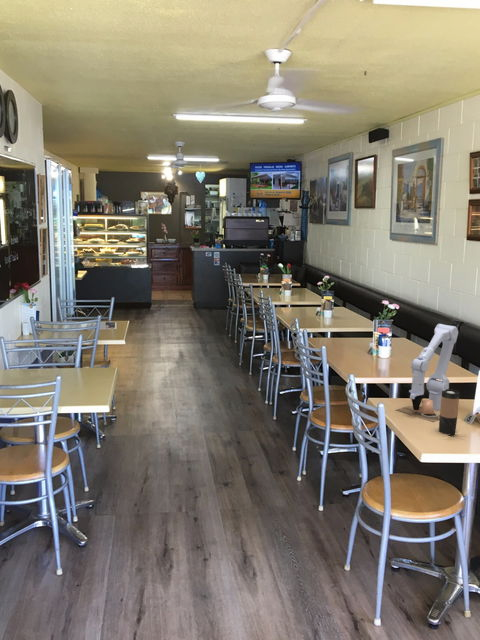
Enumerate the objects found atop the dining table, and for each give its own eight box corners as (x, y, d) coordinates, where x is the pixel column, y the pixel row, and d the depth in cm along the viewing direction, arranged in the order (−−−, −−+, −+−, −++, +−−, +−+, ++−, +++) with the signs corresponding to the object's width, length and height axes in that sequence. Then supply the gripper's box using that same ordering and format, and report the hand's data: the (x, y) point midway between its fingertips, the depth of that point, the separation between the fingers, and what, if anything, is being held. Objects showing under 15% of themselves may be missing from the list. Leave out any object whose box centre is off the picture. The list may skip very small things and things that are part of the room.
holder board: (408, 407, 317) (408, 403, 316) (446, 419, 300) (447, 415, 300) (394, 412, 309) (394, 407, 309) (433, 424, 292) (433, 419, 292)
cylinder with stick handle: (435, 414, 300) (434, 401, 302) (430, 413, 297) (429, 399, 299) (417, 415, 307) (416, 403, 309) (411, 414, 304) (411, 401, 306)
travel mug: (456, 437, 276) (460, 394, 272) (439, 435, 277) (442, 393, 274) (454, 431, 283) (458, 389, 280) (437, 429, 285) (440, 388, 281)
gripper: (415, 378, 310) (413, 404, 312) (404, 384, 298) (402, 411, 301) (429, 381, 306) (426, 407, 308) (419, 387, 294) (416, 414, 297)
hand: (415, 409), depth 304 cm, fingers closed
